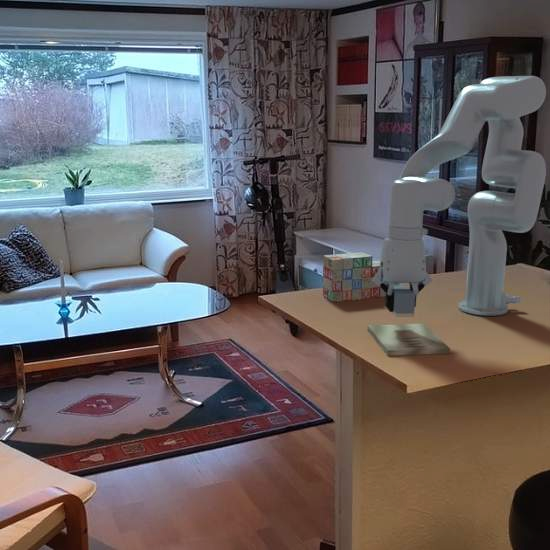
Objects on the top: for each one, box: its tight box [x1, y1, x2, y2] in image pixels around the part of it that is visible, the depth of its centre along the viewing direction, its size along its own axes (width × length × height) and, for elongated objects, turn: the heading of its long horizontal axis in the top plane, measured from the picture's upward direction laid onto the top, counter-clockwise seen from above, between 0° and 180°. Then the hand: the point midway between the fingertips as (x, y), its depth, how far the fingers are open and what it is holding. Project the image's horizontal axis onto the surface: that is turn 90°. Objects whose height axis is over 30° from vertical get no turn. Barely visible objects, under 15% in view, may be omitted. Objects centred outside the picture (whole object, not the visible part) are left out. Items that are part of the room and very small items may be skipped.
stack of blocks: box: [322, 251, 401, 302], centre depth 200 cm, size 21×6×12 cm, turn 111°
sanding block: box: [391, 284, 416, 318], centre depth 166 cm, size 4×8×6 cm, turn 7°
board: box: [367, 323, 451, 357], centre depth 163 cm, size 14×18×1 cm
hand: (400, 309), depth 166 cm, fingers closed on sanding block, 4 cm apart
